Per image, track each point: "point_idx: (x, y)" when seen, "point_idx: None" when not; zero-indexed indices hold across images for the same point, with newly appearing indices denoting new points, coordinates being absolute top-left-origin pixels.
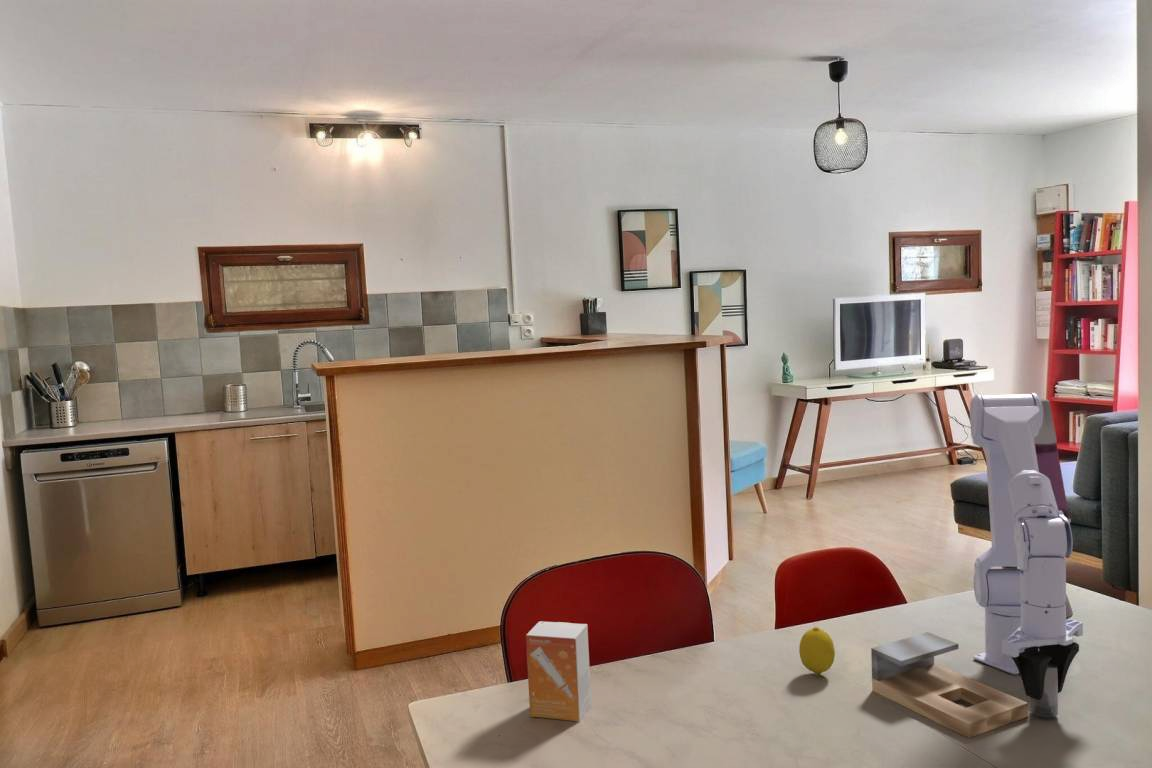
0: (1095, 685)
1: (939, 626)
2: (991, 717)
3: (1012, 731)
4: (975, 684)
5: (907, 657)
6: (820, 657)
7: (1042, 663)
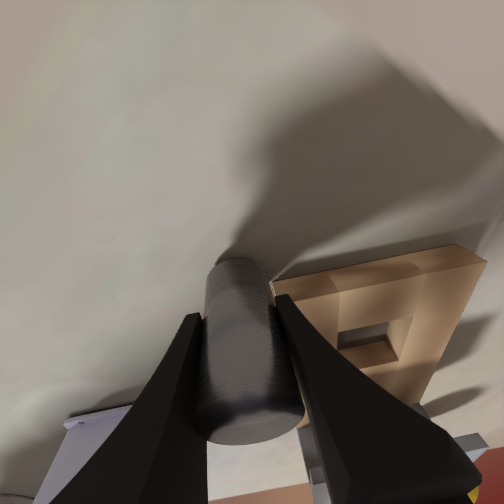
0: (21, 350)
1: None
2: (407, 274)
3: (358, 240)
4: None
5: None
6: None
7: (414, 433)
